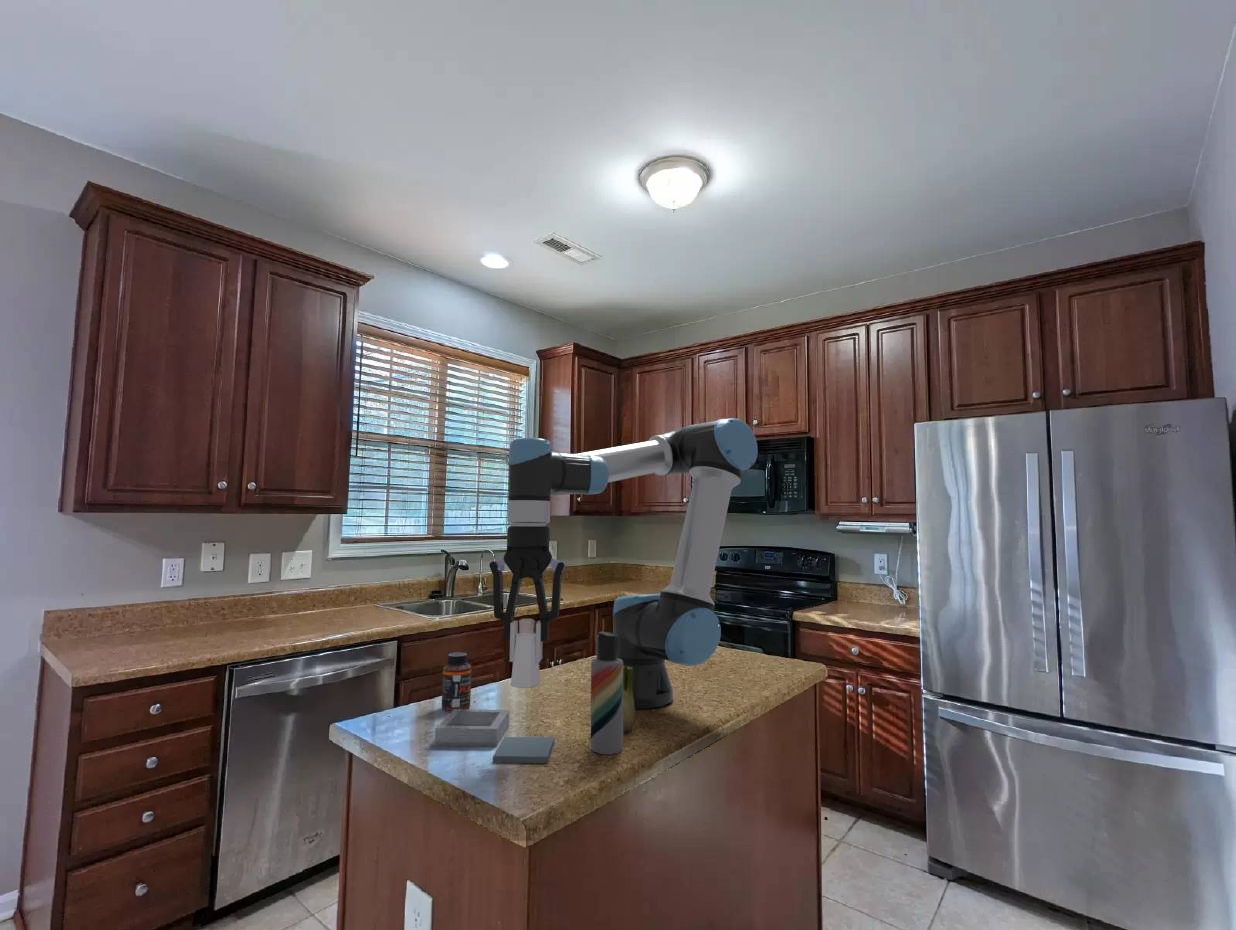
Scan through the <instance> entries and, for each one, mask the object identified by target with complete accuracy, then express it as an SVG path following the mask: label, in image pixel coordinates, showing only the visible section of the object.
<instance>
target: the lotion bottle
mask: <svg viewBox="0 0 1236 930" xmlns="http://www.w3.org/2000/svg"><path fill="white" fill-rule="evenodd" d="M623 747H624V734H623V661H622V659H619V658H618V636H617V635H616V634H614V633H613V632H611V631H599V632H598V634H597V635H596V658H593V659H592V660H591V662H590V749H591V751H592V752H593V751H594V753H595V752H597V753H596V754H598V753H599V754H598V755H614V753H615V754H618V753H620V752H622V750H623ZM619 751H620V752H619ZM617 752H618V753H617Z"/></svg>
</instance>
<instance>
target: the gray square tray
mask: <svg viewBox="0 0 1236 930" xmlns="http://www.w3.org/2000/svg"><path fill="white" fill-rule="evenodd" d="M509 727H510V709H478V708H477V709H475V708H474V709H473V708H472V709H469V708H468V709H453V710H452V711H451V712H449V713H448V714H447V715H446V716H445V718H443V720H442V721H441V722H440V723H439V724H438V725H437V726H435V729H434V746H435V747H481V748H482V747H486V748H487V747H491V748H492V747H493V748H496V747H497V746H498V745H499V743H501V740H502V739H503V737H504V735H505V733H507V730H508V728H509ZM497 748H498V747H497Z"/></svg>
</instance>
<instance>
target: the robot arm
mask: <svg viewBox="0 0 1236 930" xmlns="http://www.w3.org/2000/svg"><path fill="white" fill-rule="evenodd" d="M758 454H759V453H758V442H757V439H756V436H755V435H754V432H753V429H752V428H751V427H750V426H749V424H747V423H746V422H745V421H743V420H741V419H739V418H736V417H735V418H734V417H733V418H719V419H718V420H714V421H708V422H701V423H695V424H691V425H690V424H689V425H687V426H686V425H685V426H683V427H681V428H677V429H674V430H672V431H669V432H666V433H665V432H664V433H662V434H657V435H652V436H651V437H649V439H648V440H647V441H642V442H637V443H629V444H625V445H618V446H613V447H608V448H601V449H596V450H590V451H584V452H579V453H566V452H563V453H562V452H556V451H553V449H552V443H551V441H550V440H549V439H544V438H540V437H539V438H538V437H523V438H522V437H521V438H515V439H513V440H512V441H511V443H510V444H509V451H508V461H507V466H508V481H507V482H508V485H507V486H508V490H507V491H508V493H507V494H508V497H507V516H506V517H507V521H506V522H507V523H508V524H510V526H508V528H506V551H505V553H504V555H503V557H502V558H500V559H498V560H494V561H491V562H490V563H489V565H488V566H489V569H490V571H491V573H492V584H493V585H492V589H493V590H492V591H493V597H492V598H493V618H494V619H497V620H498V619H499V620H502V622H503V623H504V628H503V629H504V631H503V632H504V635H503V639H504V641H505V642H509V663H510V662H511V663H513V662H514V651H515V643H516V636H517V634H518V632H519V631H518V629H519V628H518V627H519V626H518V625H519V620H514V619H515V614H516V613H515V612H516V608H517V603H518V598H519V593H520V589H521V584H522V581H523V579H525V578H529V579H532V581H533V586H534V591H535V597H536V602H537V608H538V614H539V620H538V621H537V622H535V633H536V661H535V662H539V663H541V661H542V659H543V642H547V641H548V639H549V637H550V635H549V633H550V631H549V629H550V627H549V625H550V621H552V620H556V619H558V618H559V616H560V610H561V609H560V608H561V607H560V606H561V595H562V594H561V592H562V590H561V589H562V577H563V575H562V574H563V572H564V570H565V568H566V566H567V563H566V562H565V561H560V560H558V559H556V558H554V557H553V555H552V552H551V551H550V546H551V545H550V540H551V539H550V535H551V533H550V530H551V529H550V528H549V526H548V525H547V524H549V523H550V522H551V496H562V495H563V496H564V495H587V496H588V495H589V496H590V495H598V494H601V493H603V492H604V491H605V489H606V487H607V485H608V483H612V482H617V481H618V482H619V481H623V480H626V479H631V478H637V477H642V476H645V475H651V474H655V475H657V476H665V475H672V474H675V475H676V474H689V475H690V476H691V477H692V479H693V483H692V487H691V491H690V496H689V501H688V505H687V509H686V512H685V517H684V521H683V526H682V531H681V535H680V539H679V544H678V549H677V552H676V556H675V557H676V558H675V559H674V560H675V561H674V566H673V569H672V574H671V578H670V583H669V585H667V586H666V587H664V588H663V589H661V591H660V593H650V594H649V593H648V594H635V595H624V596H622V595H621V596H619V597H617V598H616V599H615V600H614V602H613V609H612V611H613V612H612V618H613V619H612V620H613V621H612V622H613V623H612V624H613V627H612V631H613V632H612V633H614V634H616V635H617V636H618V658H619V659H622V661H623V666H625V670H626V667H632V668H633V675H632V693H633V699H634V706H635V709H643V710H645V709H653V708H654V709H656V708H661V707H665V706H667V705H666V704H668V703H670V704H671V703H672V702H673V701H674V688H673V685H672V682H671V679H670V675H669V673H668V670H667V666H666V661H669V662H672V663H674V664H677V665H680V666H681V665H685V666H689V667H691V666H692V667H693V666H694V667H695V666H699V665H702V664H704V663H705V662H706V661H707V660H709V659H710V658H711V657H712V656H713V655H714V654H715V651H716V650H717V649H718V646H719V643H720V641H721V635H722V629H721V624H720V620H719V618H718V616H717V614H715V612H714V610H715V606H716V605H715V602H714V600H713V598H712V596H711V589H712V585H713V580H714V574H715V569H716V566H717V561H718V557H719V551H720V546H721V541H722V536H723V532H724V528H725V523H726V520H727V514H728V508H729V504H730V499H731V496H732V495H731V494H732V490H733V488H735V487H736V486H738V485H740V484H741V480H742V475H743V472H744V471H746V470H747V469H750V468H751V467H752V466H754V464H755V463H756V461H757V458H758ZM505 565H506V566H507V567H508V569H509V571H510V572H511V574H512V577H511V583H510V589H509V594H508V598H507V602H506V607H505V608H506V609H505V610H504V577H503V576H504V575H503V571H504V570H505ZM549 565H551V571H552V573H553V577H552V589H551V592H552V593H551V605H550V606H551V607H550V612H549V609H548V601H547V596H546V589H545V585H544V576H543V574H544V572H545V571H546V569H547V568H548V567H549ZM672 700H673V701H672ZM671 701H672V702H671ZM664 705H665V706H664ZM668 705H669V704H668ZM655 707H656V708H655Z"/></svg>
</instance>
